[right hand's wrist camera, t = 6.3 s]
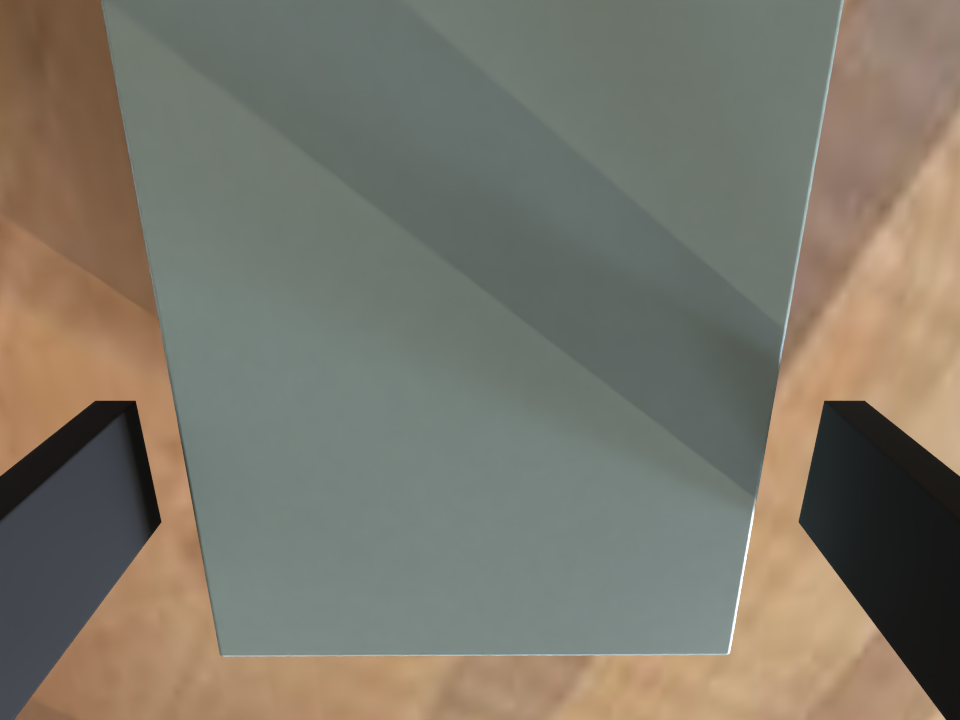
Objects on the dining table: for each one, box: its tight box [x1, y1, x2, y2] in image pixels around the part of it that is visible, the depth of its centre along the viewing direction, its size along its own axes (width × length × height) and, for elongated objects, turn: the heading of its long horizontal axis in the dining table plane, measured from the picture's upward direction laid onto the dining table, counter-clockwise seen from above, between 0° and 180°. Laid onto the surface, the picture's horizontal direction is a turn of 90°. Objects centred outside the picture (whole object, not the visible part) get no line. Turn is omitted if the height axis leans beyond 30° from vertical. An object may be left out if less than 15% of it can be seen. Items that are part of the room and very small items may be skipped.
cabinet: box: [101, 0, 844, 656], centre depth 15 cm, size 20×11×10 cm, turn 0°
